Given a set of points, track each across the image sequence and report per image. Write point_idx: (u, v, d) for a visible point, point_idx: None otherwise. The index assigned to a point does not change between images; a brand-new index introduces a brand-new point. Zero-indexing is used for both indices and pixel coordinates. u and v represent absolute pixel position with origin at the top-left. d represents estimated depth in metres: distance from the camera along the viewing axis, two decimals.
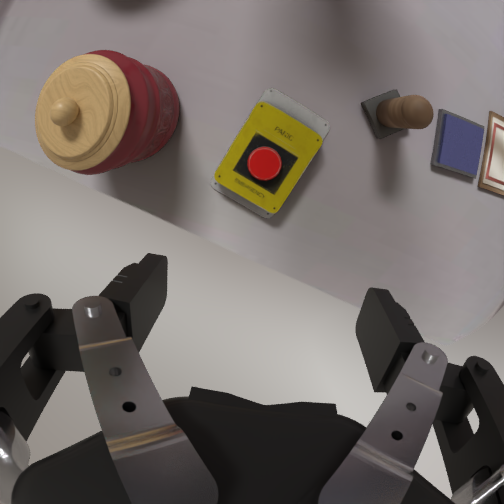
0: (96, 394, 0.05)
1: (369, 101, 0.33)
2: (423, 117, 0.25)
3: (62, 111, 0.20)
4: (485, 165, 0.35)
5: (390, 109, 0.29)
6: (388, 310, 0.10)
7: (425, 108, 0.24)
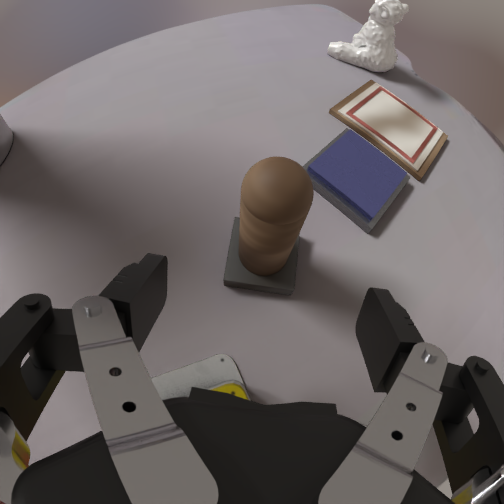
0: (96, 394, 0.05)
1: (227, 270, 0.22)
2: (292, 180, 0.14)
3: None
4: (397, 156, 0.29)
5: (251, 243, 0.18)
6: (388, 310, 0.10)
7: (276, 166, 0.14)
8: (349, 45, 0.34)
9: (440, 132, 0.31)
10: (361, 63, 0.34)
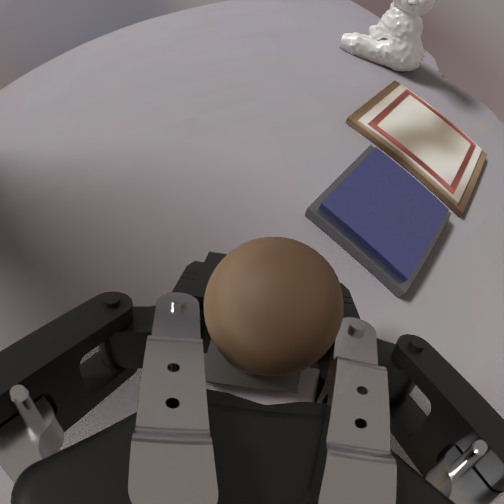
0: (146, 383, 0.05)
1: None
2: (305, 307, 0.06)
3: None
4: (433, 183, 0.21)
5: (230, 363, 0.10)
6: None
7: (272, 275, 0.07)
8: (367, 37, 0.26)
9: (478, 149, 0.23)
10: (381, 60, 0.27)
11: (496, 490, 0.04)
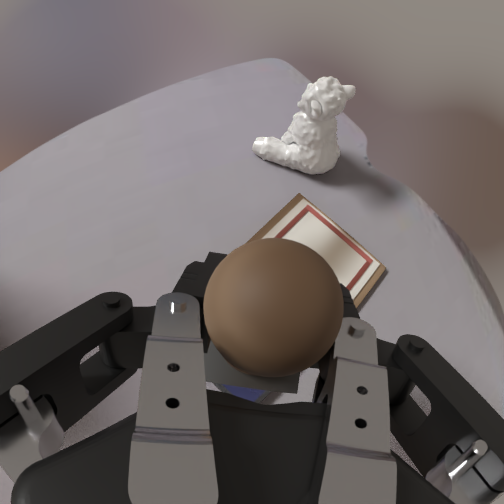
0: (146, 383, 0.05)
1: None
2: (305, 308, 0.06)
3: None
4: None
5: (230, 364, 0.10)
6: None
7: (272, 276, 0.07)
8: (277, 142, 0.33)
9: (375, 265, 0.30)
10: (291, 166, 0.34)
11: (497, 490, 0.04)
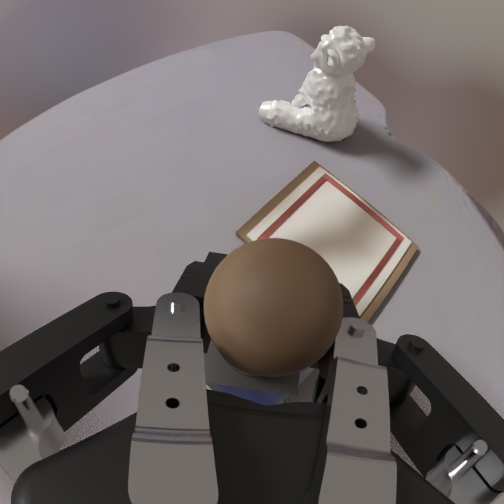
0: (146, 383, 0.05)
1: None
2: (305, 307, 0.06)
3: None
4: None
5: None
6: None
7: (272, 276, 0.07)
8: (288, 106, 0.27)
9: (406, 243, 0.24)
10: (304, 132, 0.28)
11: (496, 490, 0.04)
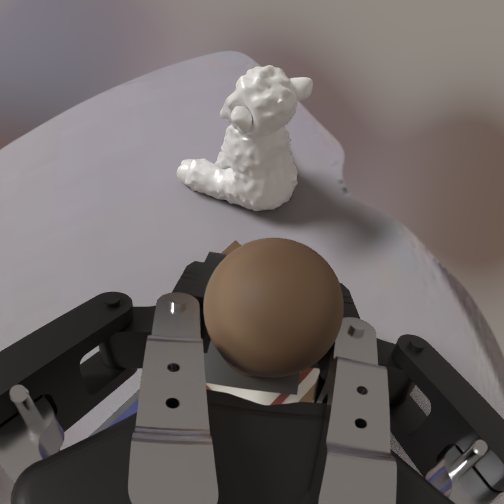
0: (146, 383, 0.05)
1: None
2: (305, 308, 0.06)
3: None
4: None
5: (230, 365, 0.10)
6: None
7: (272, 276, 0.07)
8: (208, 167, 0.24)
9: None
10: (228, 200, 0.24)
11: (496, 490, 0.04)
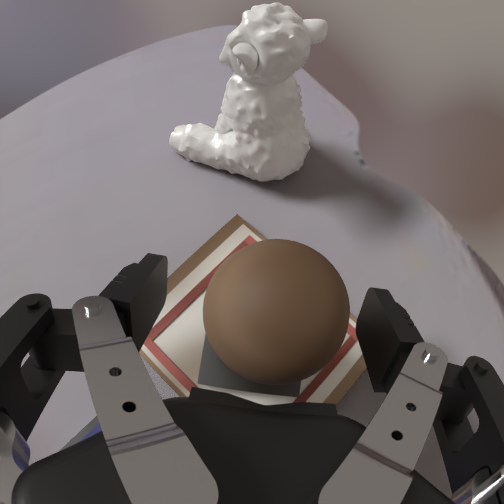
0: (96, 394, 0.05)
1: (203, 370, 0.14)
2: (310, 314, 0.06)
3: None
4: None
5: None
6: (388, 310, 0.10)
7: (276, 280, 0.06)
8: (205, 131, 0.20)
9: None
10: (229, 168, 0.20)
11: None
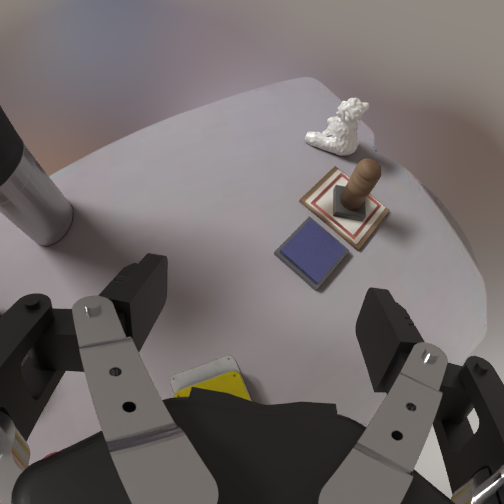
0: (96, 394, 0.05)
1: (336, 207, 0.47)
2: (376, 166, 0.38)
3: None
4: (343, 234, 0.47)
5: (355, 191, 0.42)
6: (388, 310, 0.10)
7: (371, 161, 0.38)
8: (321, 135, 0.52)
9: (382, 208, 0.49)
10: (329, 150, 0.53)
11: None
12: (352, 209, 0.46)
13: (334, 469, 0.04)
